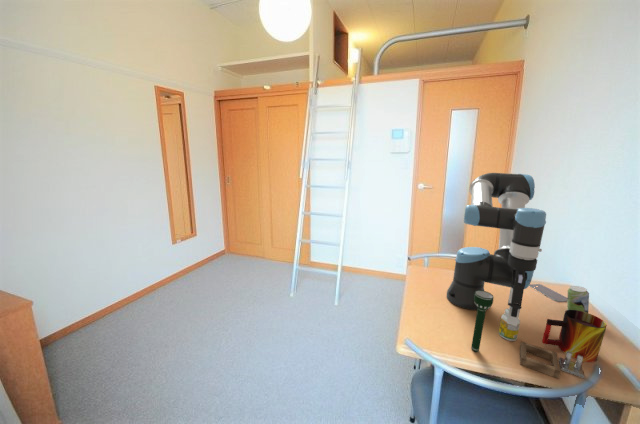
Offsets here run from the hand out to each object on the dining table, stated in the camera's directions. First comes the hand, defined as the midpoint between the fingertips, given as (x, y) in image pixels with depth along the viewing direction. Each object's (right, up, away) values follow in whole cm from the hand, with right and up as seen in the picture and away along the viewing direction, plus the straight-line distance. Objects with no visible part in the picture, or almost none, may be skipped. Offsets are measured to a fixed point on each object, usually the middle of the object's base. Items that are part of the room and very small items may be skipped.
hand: (511, 314), depth 94 cm
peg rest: (+9, -12, -12) cm, 19 cm away
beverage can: (+35, -6, +15) cm, 39 cm away
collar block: (+1, -11, -9) cm, 15 cm away
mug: (+16, -11, -5) cm, 20 cm away
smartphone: (+39, -3, +32) cm, 51 cm away
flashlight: (-15, -10, -5) cm, 19 cm away
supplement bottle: (0, -9, +2) cm, 9 cm away
